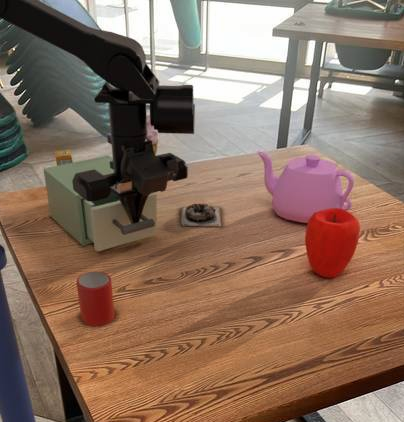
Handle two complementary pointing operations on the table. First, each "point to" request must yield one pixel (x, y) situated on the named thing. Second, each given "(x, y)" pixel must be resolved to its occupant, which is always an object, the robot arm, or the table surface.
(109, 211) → the drawer
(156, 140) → the ice cream cone
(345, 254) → the apple
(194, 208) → the donut
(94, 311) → the can
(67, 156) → the supplement box
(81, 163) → the cabinet
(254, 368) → the table surface
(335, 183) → the teapot
